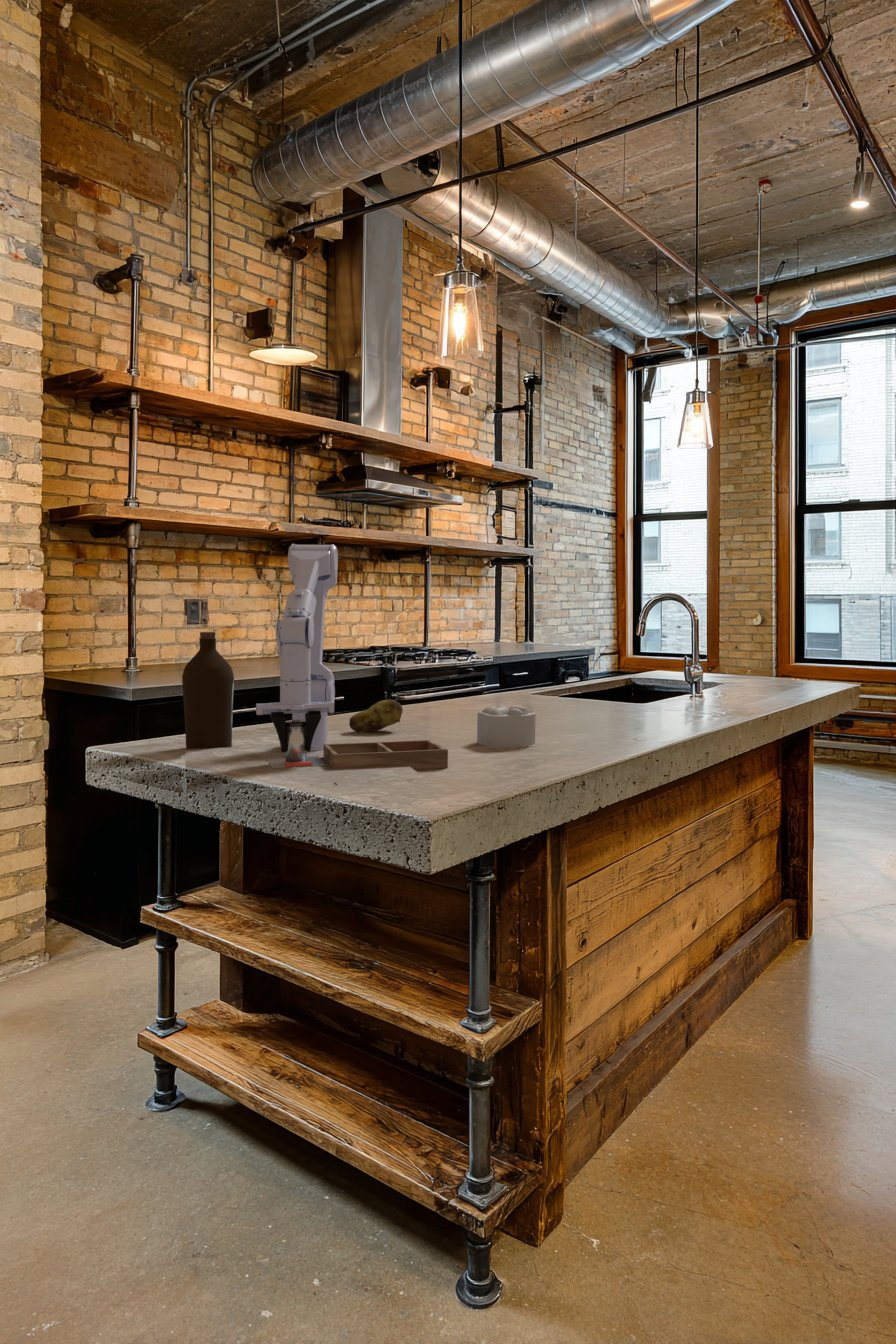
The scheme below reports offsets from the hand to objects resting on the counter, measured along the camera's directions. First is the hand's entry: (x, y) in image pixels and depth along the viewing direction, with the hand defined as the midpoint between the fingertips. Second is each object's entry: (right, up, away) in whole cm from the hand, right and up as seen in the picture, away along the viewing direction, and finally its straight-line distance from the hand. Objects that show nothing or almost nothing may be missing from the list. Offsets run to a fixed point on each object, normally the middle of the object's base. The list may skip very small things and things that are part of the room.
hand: (295, 751), depth 159 cm
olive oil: (-22, -2, +19) cm, 29 cm away
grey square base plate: (0, -3, 0) cm, 3 cm away
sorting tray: (+17, -3, +4) cm, 17 cm away
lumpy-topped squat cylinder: (+43, -2, +30) cm, 52 cm away
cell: (0, -2, 0) cm, 2 cm away
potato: (+11, 0, +46) cm, 47 cm away
